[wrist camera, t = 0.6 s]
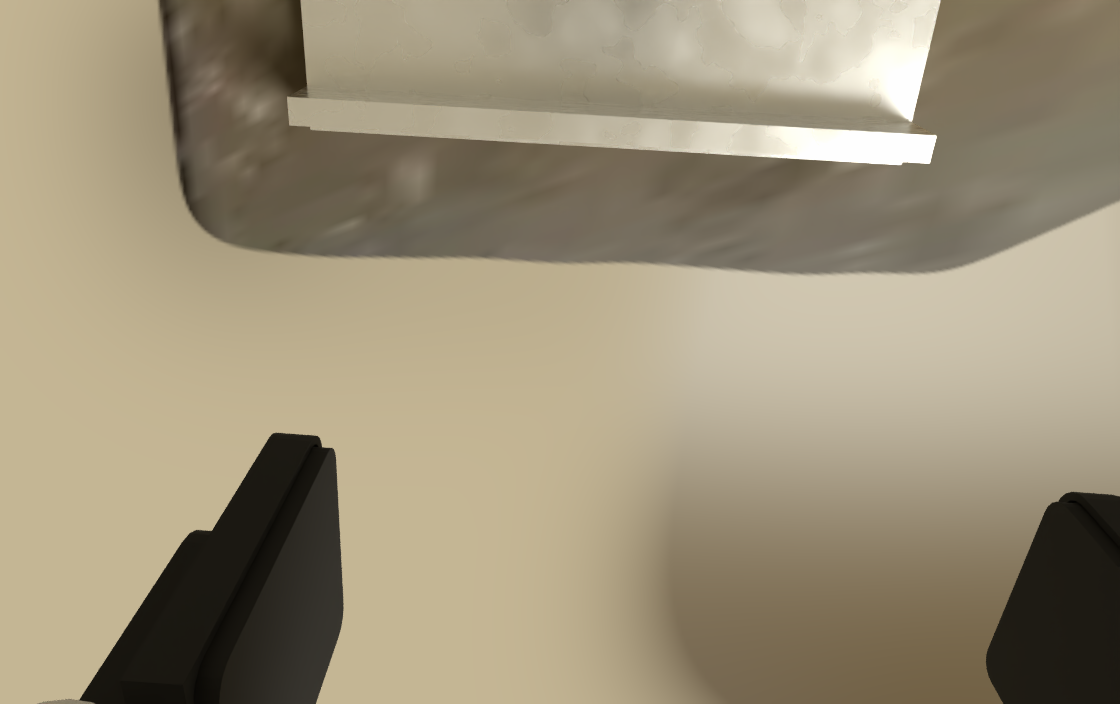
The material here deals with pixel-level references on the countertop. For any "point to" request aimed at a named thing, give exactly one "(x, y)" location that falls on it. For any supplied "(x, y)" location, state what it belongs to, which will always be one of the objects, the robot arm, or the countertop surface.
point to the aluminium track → (626, 74)
